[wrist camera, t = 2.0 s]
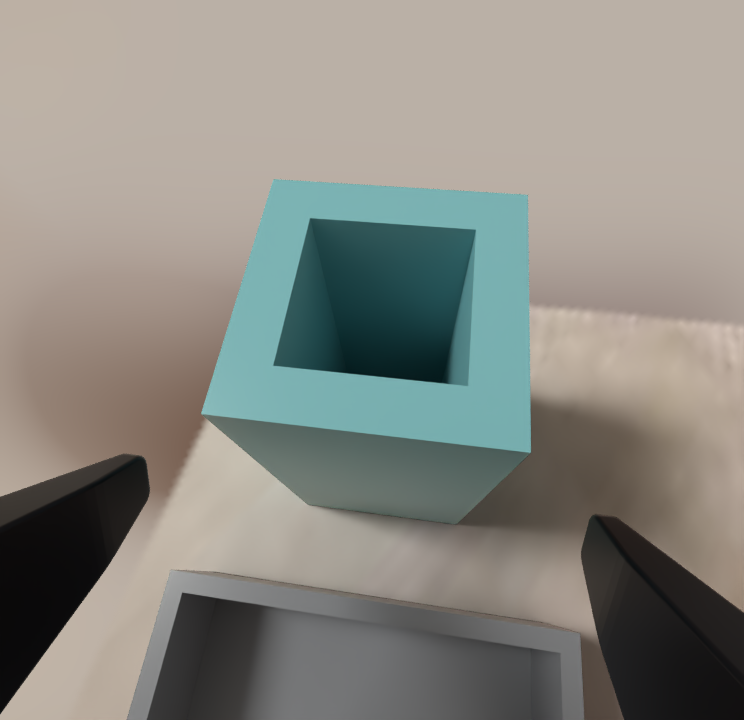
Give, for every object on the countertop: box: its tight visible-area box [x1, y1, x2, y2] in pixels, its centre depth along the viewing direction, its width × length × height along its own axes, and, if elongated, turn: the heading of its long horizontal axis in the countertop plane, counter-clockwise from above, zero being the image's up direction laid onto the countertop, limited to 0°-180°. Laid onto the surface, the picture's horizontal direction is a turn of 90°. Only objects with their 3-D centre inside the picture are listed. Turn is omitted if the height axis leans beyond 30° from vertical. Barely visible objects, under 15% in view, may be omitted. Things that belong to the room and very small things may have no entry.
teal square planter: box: [201, 179, 531, 524], centre depth 16 cm, size 6×6×12 cm
